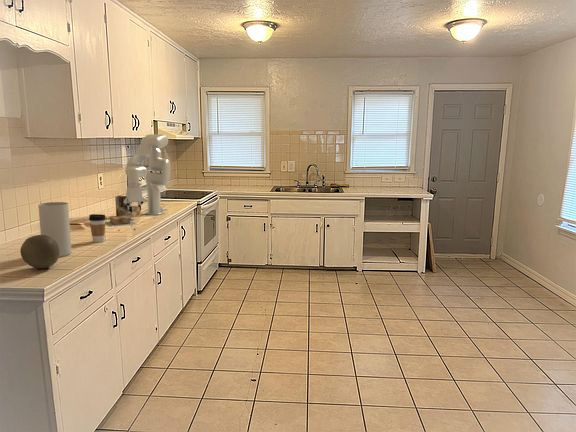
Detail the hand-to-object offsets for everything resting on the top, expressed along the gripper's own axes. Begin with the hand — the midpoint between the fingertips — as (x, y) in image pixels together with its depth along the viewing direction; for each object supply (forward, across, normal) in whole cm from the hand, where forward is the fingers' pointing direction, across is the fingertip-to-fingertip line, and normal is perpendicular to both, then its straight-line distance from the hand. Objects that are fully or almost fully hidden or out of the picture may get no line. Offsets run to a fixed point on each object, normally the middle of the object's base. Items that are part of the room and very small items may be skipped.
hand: (135, 211), depth 289 cm
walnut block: (+5, +13, +9) cm, 16 cm away
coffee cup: (+5, +35, +48) cm, 59 cm away
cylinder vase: (+4, +58, +66) cm, 88 cm away
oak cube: (+2, 0, 0) cm, 2 cm away
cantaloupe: (+3, +67, +88) cm, 110 cm away
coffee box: (+8, +4, -14) cm, 16 cm away
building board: (+6, +13, +9) cm, 17 cm away
